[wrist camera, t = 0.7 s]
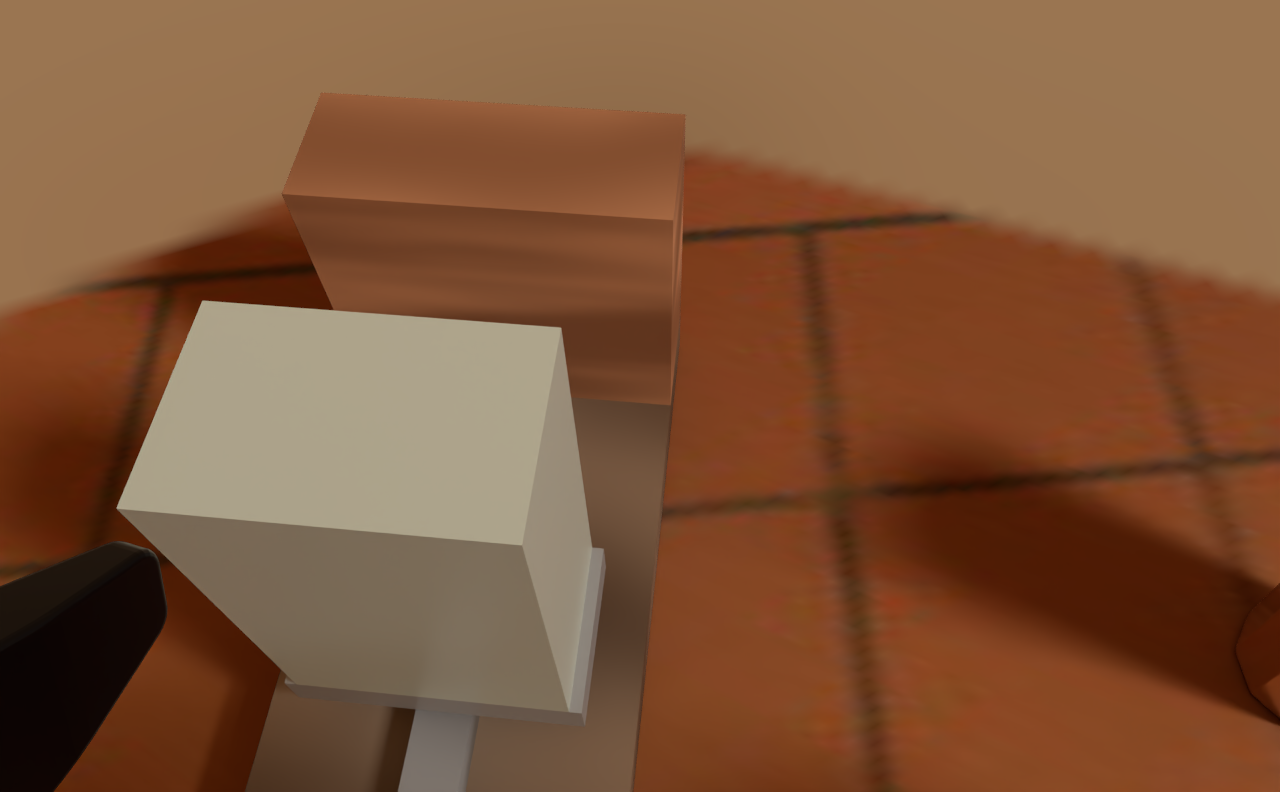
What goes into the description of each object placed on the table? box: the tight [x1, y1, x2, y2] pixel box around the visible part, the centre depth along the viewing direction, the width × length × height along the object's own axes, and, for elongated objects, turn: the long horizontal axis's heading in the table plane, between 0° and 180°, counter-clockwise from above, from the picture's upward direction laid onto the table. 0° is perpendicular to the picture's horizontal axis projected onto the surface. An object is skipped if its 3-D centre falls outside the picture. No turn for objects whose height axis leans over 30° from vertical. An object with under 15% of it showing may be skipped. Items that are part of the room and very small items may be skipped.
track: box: [245, 93, 685, 792], centre depth 21 cm, size 18×8×8 cm, turn 174°
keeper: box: [116, 301, 606, 727], centre depth 18 cm, size 4×6×9 cm, turn 84°
